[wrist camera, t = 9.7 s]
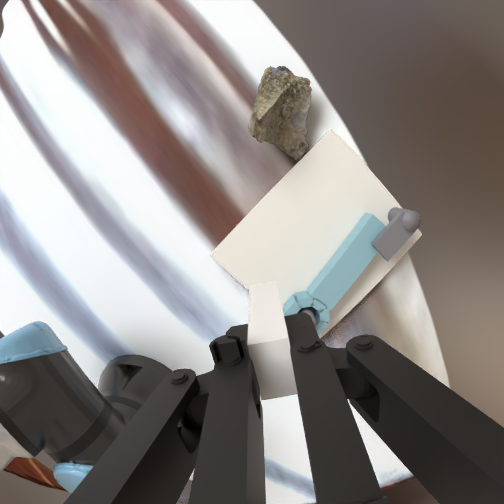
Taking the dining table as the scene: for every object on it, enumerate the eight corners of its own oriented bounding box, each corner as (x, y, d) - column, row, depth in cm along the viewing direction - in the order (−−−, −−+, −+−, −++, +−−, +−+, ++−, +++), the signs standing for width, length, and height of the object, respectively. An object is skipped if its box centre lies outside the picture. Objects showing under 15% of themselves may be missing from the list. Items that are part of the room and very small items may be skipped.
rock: (309, 164, 36) (254, 143, 28) (272, 157, 40) (215, 140, 32) (327, 82, 33) (278, 45, 26) (290, 82, 37) (238, 52, 30)
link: (307, 336, 40) (309, 345, 38) (274, 315, 40) (276, 323, 37) (389, 233, 37) (397, 236, 35) (359, 206, 36) (366, 208, 34)
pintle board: (311, 341, 42) (318, 363, 36) (210, 253, 39) (203, 265, 34) (418, 232, 39) (440, 241, 33) (329, 130, 36) (341, 122, 30)
